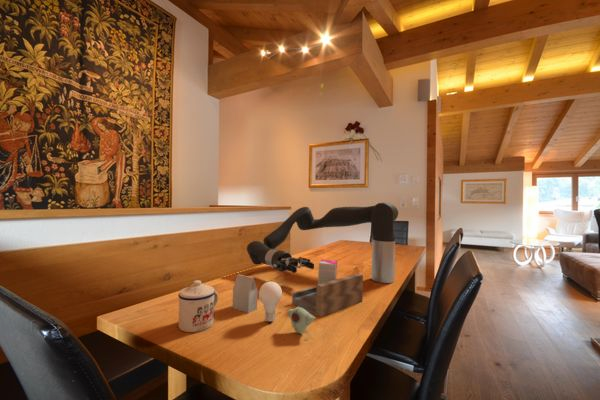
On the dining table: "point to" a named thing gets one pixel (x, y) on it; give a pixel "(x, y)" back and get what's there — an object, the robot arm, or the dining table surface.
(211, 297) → the teacup with lid
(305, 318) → the pale green triangular piece
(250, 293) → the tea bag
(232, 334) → the dining table surface
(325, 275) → the supplement box
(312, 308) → the cleat board
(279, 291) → the lightbulb
